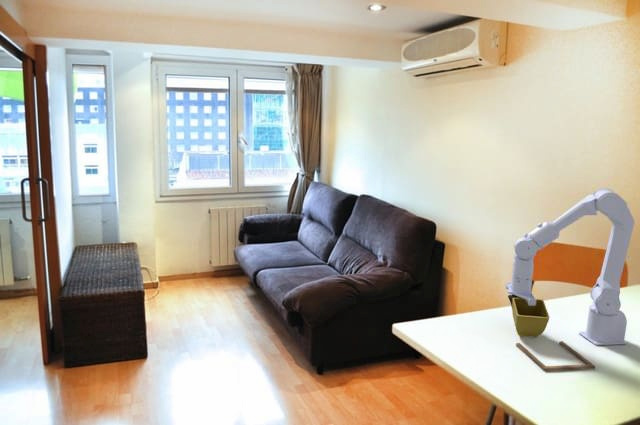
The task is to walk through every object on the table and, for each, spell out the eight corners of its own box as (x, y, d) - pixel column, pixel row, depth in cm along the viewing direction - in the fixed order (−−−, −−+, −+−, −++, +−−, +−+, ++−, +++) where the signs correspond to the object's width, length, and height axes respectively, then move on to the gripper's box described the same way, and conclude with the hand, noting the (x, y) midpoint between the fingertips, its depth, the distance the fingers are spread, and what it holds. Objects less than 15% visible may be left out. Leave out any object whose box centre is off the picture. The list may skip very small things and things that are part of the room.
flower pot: (545, 343, 139) (550, 317, 135) (513, 340, 141) (517, 315, 137) (538, 323, 147) (543, 299, 143) (508, 321, 149) (512, 297, 145)
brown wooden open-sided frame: (562, 343, 138) (562, 341, 138) (594, 368, 124) (595, 366, 124) (515, 345, 136) (516, 343, 136) (543, 371, 123) (544, 368, 123)
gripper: (498, 269, 153) (494, 309, 155) (521, 285, 139) (517, 329, 141) (519, 269, 154) (515, 309, 156) (544, 284, 139) (539, 328, 142)
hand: (517, 318), depth 149 cm, fingers closed
